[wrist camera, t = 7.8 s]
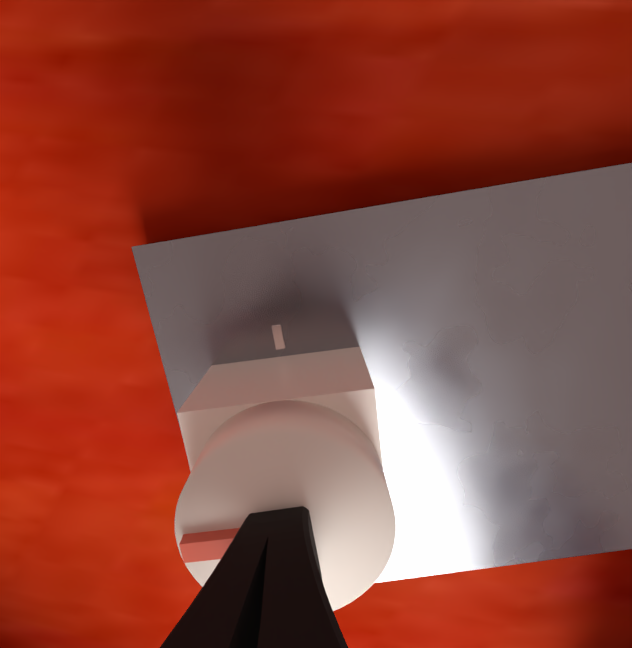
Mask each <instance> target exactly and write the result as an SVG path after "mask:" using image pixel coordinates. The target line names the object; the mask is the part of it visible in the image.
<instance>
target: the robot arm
mask: <svg viewBox="0 0 632 648" xmlns="http://www.w3.org/2000/svg"><path fill="white" fill-rule="evenodd" d="M160 648H348V646H347V644H346V642H345V639H344V637H343V635H342V632H341V630H340V628H339V625H338V623H337V620H336V618H335V615H334V613H333V610H332V608H331V605H330V602H329V599H328V597H327V594H326V591H325V588H324V585H323V582H322V574H321V569H320V564H319V559H318V554H317V549H316V544H315V538H314V533H313V528H312V523H311V518H310V513H309V510H308V509H307V508H305V507H304V506H299V507H292V508H285V509H278V510H271V511H264V512H257V513H250V514H249V515H248V516H247V518H246V519H245V521H244V522H243V524H242V525H241V527H240V529H239V530H238V532H237V534H236V535H235V537H234V539H233V540H232V542H231V544H230V545H229V547H228V548H227V550H226V552H225V553H224V555H223V556H222V558H221V560H220V561H219V563H218V564H217V566H216V568H215V569H214V571H213V572H212V574H211V575H210V577H209V578H208V580H207V581H206V583H205V584H204V586H203V587H202V589H201V590H200V592H199V593H198V595H197V596H196V598H195V599H194V601H193V602H192V604H191V605H190V607H189V608H188V609H187V611H186V612H185V614H184V615H183V616H182V618H181V619H180V620H179V622H178V623H177V625H176V626H175V627H174V629H173V630H172V631H171V633H170V634H169V636H168V637H167V638H166V640H165V641H164V643H163V644H162V645H161V647H160Z"/></svg>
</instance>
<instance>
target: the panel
mask: <svg viewBox="0 0 632 648" xmlns="http://www.w3.org/2000/svg"><path fill="white" fill-rule="evenodd" d="M132 251H133V255H134V258H135V262H136V266H137V269H138V273H139V277H140V281H141V284H142V288H143V292H144V295H145V299H146V303H147V307H148V310H149V314H150V318H151V322H152V325H153V329H154V333H155V336H156V340H157V344H158V348H159V351H160V355H161V359H162V362H163V366H164V370H165V374H166V377H167V381H168V385H169V388H170V392H171V396H172V400H173V403H174V407H175V411H176V414H177V412H178V411H179V409H180V408H181V407H182V405H183V404H184V402H185V401H186V400H187V398H188V397H189V396H190V394H191V393H192V392H193V390H194V389H195V387H196V386H197V385H198V383H199V382H200V381H201V379H202V378H203V376H204V375H205V374H206V372H207V371H208V370H209V368H210V367H211V365H219V364H227V363H234V362H242V361H250V360H258V359H266V358H274V357H281V356H289V355H297V354H305V353H313V352H321V351H329V350H336V349H344V348H352V347H360V349H361V351H362V354H363V357H364V360H365V363H366V366H367V368H368V371H369V374H370V377H371V380H372V382H373V385H374V388H375V397H376V406H377V416H378V425H379V435H380V444H381V454H382V463H383V471H384V475H385V479H386V482H387V486H388V490H389V493H390V497H391V501H392V504H393V508H394V514H395V519H396V534H395V542H394V547H393V550H392V555H391V556H390V559H389V561H388V563H387V565H386V567H385V569H384V570H383V572H382V573H381V575H380V576H379V578H378V579H377V580H376V581H375V582H374V583H378V582H386V581H393V580H401V579H408V578H416V577H423V576H431V575H439V574H446V573H454V572H461V571H469V570H476V569H484V568H491V567H499V566H506V565H514V564H522V563H529V562H537V561H544V560H552V559H559V558H567V557H574V556H582V555H590V554H597V553H605V552H612V551H620V550H627V549H632V163H627V164H621V165H615V166H609V167H603V168H598V169H592V170H586V171H580V172H574V173H568V174H562V175H556V176H550V177H544V178H538V179H532V180H526V181H520V182H514V183H508V184H502V185H497V186H491V187H485V188H479V189H473V190H467V191H461V192H455V193H449V194H443V195H437V196H431V197H425V198H419V199H413V200H407V201H401V202H395V203H390V204H384V205H378V206H372V207H366V208H360V209H354V210H348V211H342V212H336V213H330V214H324V215H318V216H312V217H306V218H300V219H294V220H288V221H283V222H277V223H271V224H265V225H259V226H253V227H247V228H241V229H235V230H229V231H223V232H217V233H211V234H205V235H199V236H193V237H187V238H182V239H176V240H170V241H164V242H158V243H152V244H146V245H140V246H134V247H132ZM177 418H178V416H177ZM178 422H179V420H178ZM179 426H180V424H179ZM180 429H181V428H180Z"/></svg>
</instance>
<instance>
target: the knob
mask: <svg viewBox="0 0 632 648" xmlns="http://www.w3.org/2000/svg"><path fill="white" fill-rule="evenodd" d="M177 416H178V420H179V424H180V428H181V433H182V437H183V441H184V445H185V450H186V454H187V458H188V462H189V466H190V471H191V474H190V476H189V478H188V480H187V482H186V484H185V486H184V488H183V490H182V492H181V494H180V497H179V500H178V504H177V507H176V513H175V536H176V541H177V546H178V549H179V552H180V554H181V557H182V559H183V562H184V563H185V565H186V567H187V568H188V570H189V571H190V573H191V574H192V576H193V577H194V578H195V579H196V580H197V581H198V583H199V584H200V585H201V586H202V587H203V586H204V584H205V583H206V581H207V580H208V578H209V577H210V575H211V574H212V572H213V571H214V569H215V568H216V566H217V564H218V563H219V561H220V560H221V558H222V556H223V555H224V553H225V552H226V550H227V548H228V547H229V545H230V544H231V542H232V540H233V539H234V537H235V535H236V534H237V532H238V530H239V529H240V527H241V525H242V524H243V522H244V521H245V519H246V518H247V516H248V515H249V514H250V513H257V512H264V511H271V510H278V509H285V508H292V507H299V506H304V507H305V508H307V509H308V510H309V513H310V518H311V523H312V528H313V533H314V538H315V544H316V549H317V554H318V559H319V564H320V569H321V574H322V582H323V585H324V588H325V591H326V594H327V597H328V599H329V602H330V605H331V608H332V610H333V611H334V610H337V609H339V608H341V607H343V606H345V605H347V604H349V603H351V602H352V601H354V600H355V599H356V598H358V597H359V596H361V595H362V594H363V593H364V592H365V591H367V590H368V589H369V588H370V587H371V586H372V585H373V584H374V582H375V581H376V580H377V579H378V578H379V576H380V575H381V573H382V572H383V570H384V569H385V567H386V565H387V563H388V561H389V559H390V556H391V555H392V550H393V547H394V542H395V534H396V519H395V514H394V508H393V504H392V501H391V497H390V493H389V490H388V486H387V482H386V479H385V475H384V471H383V463H382V454H381V444H380V435H379V425H378V416H377V406H376V397H375V388H374V385H373V382H372V380H371V377H370V374H369V371H368V368H367V366H366V363H365V360H364V357H363V354H362V351H361V349H360V347H352V348H344V349H336V350H329V351H321V352H313V353H305V354H297V355H289V356H281V357H274V358H266V359H258V360H250V361H242V362H234V363H227V364H219V365H211V367H210V368H209V370H208V371H207V372H206V374H205V375H204V376H203V378H202V379H201V381H200V382H199V383H198V385H197V386H196V387H195V389H194V390H193V392H192V393H191V394H190V396H189V397H188V398H187V400H186V401H185V402H184V404H183V405H182V407H181V408H180V409H179V411H178V412H177Z"/></svg>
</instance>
